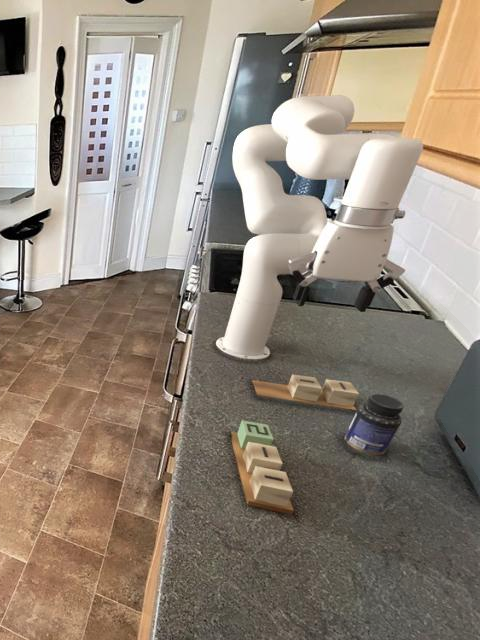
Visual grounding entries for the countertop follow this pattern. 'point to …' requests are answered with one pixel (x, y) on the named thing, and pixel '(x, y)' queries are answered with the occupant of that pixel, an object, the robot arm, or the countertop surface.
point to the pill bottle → (375, 424)
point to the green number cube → (254, 434)
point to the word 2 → (311, 391)
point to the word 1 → (263, 476)
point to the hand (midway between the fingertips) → (328, 306)
